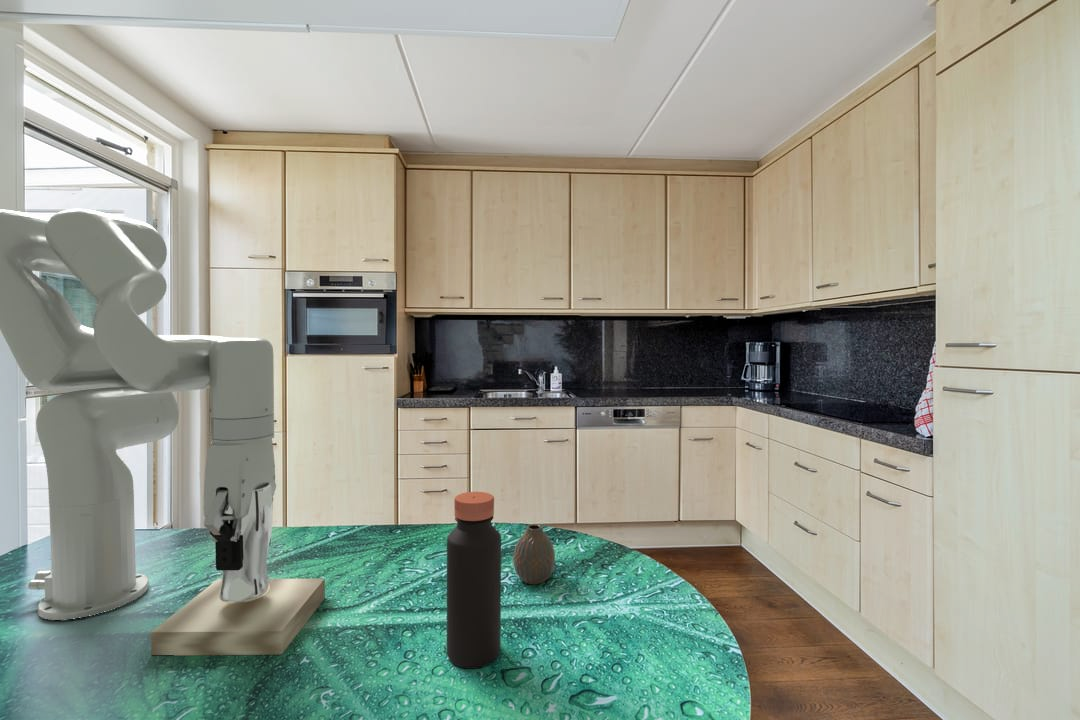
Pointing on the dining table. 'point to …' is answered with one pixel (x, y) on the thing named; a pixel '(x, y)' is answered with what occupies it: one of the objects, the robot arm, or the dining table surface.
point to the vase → (534, 556)
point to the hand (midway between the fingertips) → (244, 556)
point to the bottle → (473, 583)
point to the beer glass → (251, 551)
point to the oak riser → (240, 621)
